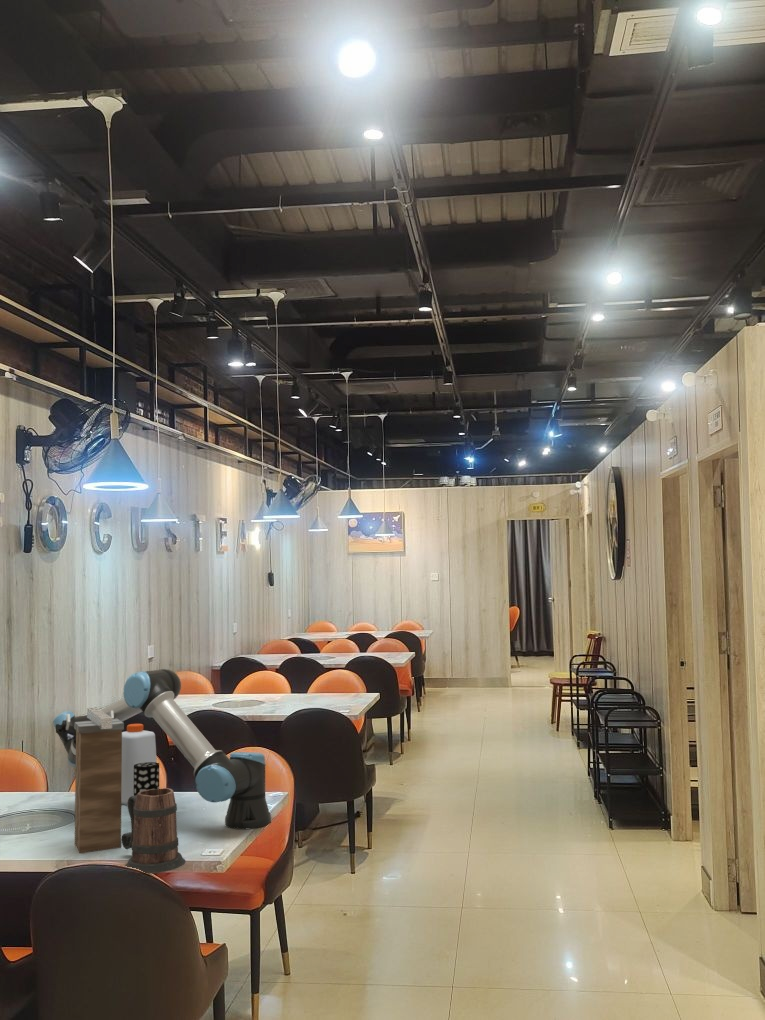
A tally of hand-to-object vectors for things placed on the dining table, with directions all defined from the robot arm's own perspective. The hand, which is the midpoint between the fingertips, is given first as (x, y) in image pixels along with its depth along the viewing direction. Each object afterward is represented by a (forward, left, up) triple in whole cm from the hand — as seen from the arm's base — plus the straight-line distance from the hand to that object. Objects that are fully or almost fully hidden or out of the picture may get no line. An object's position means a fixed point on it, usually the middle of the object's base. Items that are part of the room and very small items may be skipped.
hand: (90, 716), depth 278 cm
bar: (-13, +7, 0) cm, 15 cm away
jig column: (-13, +7, -37) cm, 40 cm away
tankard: (-40, +11, -38) cm, 56 cm away
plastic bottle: (+26, -40, -38) cm, 61 cm away
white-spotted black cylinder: (-8, -16, -38) cm, 42 cm away
